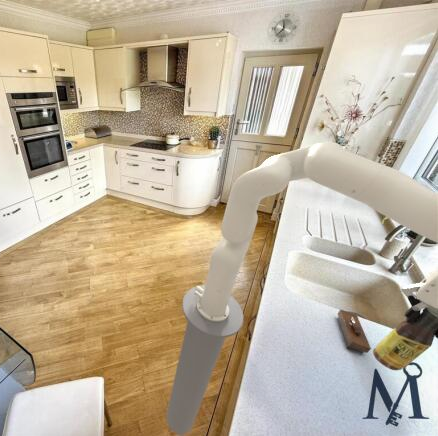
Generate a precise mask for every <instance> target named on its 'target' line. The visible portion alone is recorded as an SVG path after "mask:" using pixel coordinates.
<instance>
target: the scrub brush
mask: <svg viewBox="0 0 438 436" xmlns="http://www.w3.org/2000/svg"><path fill="white" fill-rule="evenodd" d="M337 316H338V317H337V319H336V320H337V325H338V327H339V329H340V332H341V336H342V338H343V342H344V344H345V346H346V350H350V351H352V352H354V353H355V352H356V353H358V354H363V353H366V354H368V353H369V352H370V351H371V350H372V347H371V345H370V343H369V340H368V338H367V336H366V333H365V331H364V328H363V326H362V324H361V321H360V319H359V317H358V315H357V314H356V313H353V312H350V311H347V310H343V309H339V311H338V312H337Z"/></svg>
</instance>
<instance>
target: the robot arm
mask: <svg viewBox="0 0 438 436" xmlns="http://www.w3.org/2000/svg"><path fill="white" fill-rule="evenodd" d="M302 179H309V180H311V181H312V182H314V183H316V184H318V185H321V186H323V187H325V188H328V189H331V190H332V191H334V192H337V193H339V194H342V195H344V196H346V197H348V198H350V199H353V200H355V201H357V202H359V203H362V204H364V205H366V206H368V207H370V208H372V210H374V211H375V212H377V213H379V214H380V215H383V216H385V217H387V218H388V219H390V220H392V221H394V222H396V223H397V224H399V225H400V226H402V227H404V228H405V229H408V230H410V231H412V232H413V233H416V234H417V235H419V236H422V237H424V238H426V239H428V240H430V241H433V242H435V243H437V244H438V193H437V192H435V191H433V190H431V189H429V188H427V187H426V186H424V185H423V184H421V183H420V182H419V181H417V180H416V179H414V178H413V177H411V176H410V175H407V173H404V172H402V171H400V170H399V169H396V168H393V167H390V166H388V165H386V164H382V163H379V162H377V161H374V160H372V159H369V158H366V157H364V156H362V155H359V154H356V153H354V152H351V151H348V150H345V149H344V147H343V146H342V145H341V144H339V143H338V142H334V141H322V142H318V143H314V144H311V145H307V146H304V147H300V148H298V149H294V150H291V151H287V152H282V153H280V154H277V155H273V156H271V157H269V158H267V159H266V160H264V161H263V163H261V165H260V166H258V167H255V168H253V169H251V170H248V171H246V172H244V173H242V174H240V176H239V177H237V178H236V180H235V181H234V182H233V184H232V187H231V189H230V192H229V196H228V200H227V203H226V206H225V211H224V214H223V218H222V221H221V224H220V231H221V235H222V237H221V238H220V240H219V241H218V243H217V244H216V245H215V247H214V248H213V250H212V253H211V255H210V262H209V267H208V273H207V276H206V279H205V280H206V281H205V285H204V286H205V288H204V290H203V289H202V288H201V287H199V286H200V285H197V286H195V287H196V288H195V289H196V290H197V291H198V292H200V293H201V294H199V293H198V292H197V291H195V293H194V294H196V295H197V296H198V297H199V298H198V300H197V303H196V306H197V310H198V312H199V313H200V314H201V315H202V316H203V317H204V318H206V319H207V320H210V321H213V322H221V321H224V320H225V319H226V318H227V317H228V315H229V307H228V305H227V304H228V301H229V298H230V295H231V296H232V293H233V289H234V286H235V283H236V280H237V277H238V275H239V271H240V269H241V266H242V264H243V262H244V259H245V257H246V255H247V253H248V250H249V247H250V245H251V242H252V240H253V239H252V238H253V235H254V232H255V229H256V227H257V224H258V220H259V219H258V218H259V216H258V213H257V211H258V210H259V209H258V208H259V205H260V202H261V201H262V200H263V199H264V198H267V197H270V196H275V195H277V194H279V193H282V192H283V191H284V190H285V189H286V188H287V187H288V185H289V184H290V182H294V181H299V180H302ZM401 292H402V293H403V295H404V296H405V297H406V298H407V300H408V302H409V304H410V305H411V306H410V307H409V308H408V309H407V310H406V311H405V313H404V314H403V315H404V317H405V318H406V319H405V320H406V322H407V323H411V322H413V321H414V320H415V319H416V318H417V317H418V316H419V315H420V314H421V311H422V310H423V309H424V308H425V307H427V306H432V307H435V308H437V309H438V267H437V268H435V269H434V270H433V271H432V272H430V273H429V274H428V275H426V276H425V277H424V278H423V279H422V280H421V281H420V282H419V283H414V284H409V285H403V286H402V287H401ZM434 338H436V339H438V331H436V333H435V336H434Z"/></svg>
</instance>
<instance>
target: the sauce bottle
mask: <svg viewBox="0 0 438 436" xmlns="http://www.w3.org/2000/svg"><path fill="white" fill-rule="evenodd" d="M436 331H438V309H437V308H435V307H433V306H430V305H429V306H427V307H425V308H423V309H422V312H420V315H419V316H418V317H417V318H416V319H415V320H414V321H413V322H411V323H407V322H406V319H404V320H403V321H401V322H400V323H399V324H398V325H397V326H395V327H394V328H393V329H392V330H391V331H390V332H389V333H388V334H387V335H386V336H385V337H384V338H383V339H382V340H381V341H380V342H379V343H378V344H377V345H376V346H375V348H373V350H372V355H373V356H374V358H375V359H376V361H377V362H378V363H380V364H381V365H382V366H383V367H385V368H387V369H389V370H391V371H400V370H403V369H405V368H406V367H407V366H409V365H410V364H411V363H412V362H413V361H415V360H416V359H417V358H419V357H420V356H421V355H422V354H424V353H425V351H427V350H428V349H429V348H430V347H432V345H433V342H434V339H435V333H436Z"/></svg>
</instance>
